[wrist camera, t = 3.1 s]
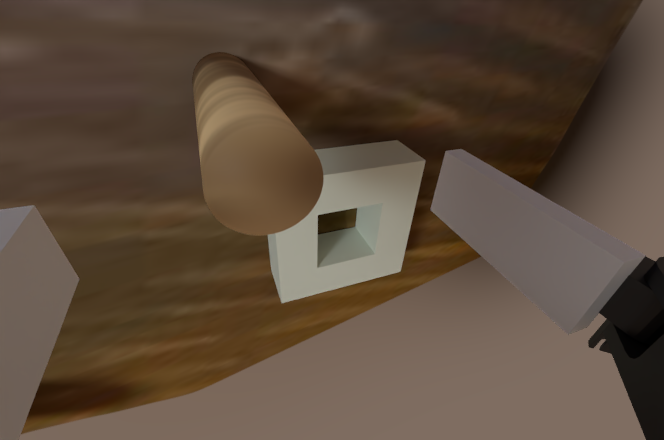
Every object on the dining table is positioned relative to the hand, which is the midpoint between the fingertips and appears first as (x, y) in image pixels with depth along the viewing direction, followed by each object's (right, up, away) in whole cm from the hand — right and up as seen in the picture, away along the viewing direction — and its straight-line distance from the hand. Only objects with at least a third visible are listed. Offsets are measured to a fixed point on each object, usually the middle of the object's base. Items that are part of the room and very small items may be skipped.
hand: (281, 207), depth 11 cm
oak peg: (-6, +10, +13) cm, 17 cm away
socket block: (+2, +1, +23) cm, 23 cm away
